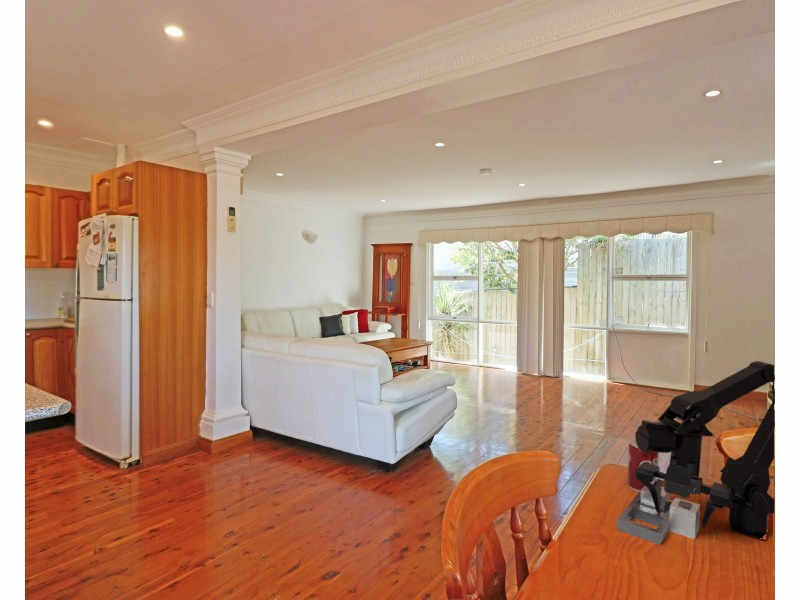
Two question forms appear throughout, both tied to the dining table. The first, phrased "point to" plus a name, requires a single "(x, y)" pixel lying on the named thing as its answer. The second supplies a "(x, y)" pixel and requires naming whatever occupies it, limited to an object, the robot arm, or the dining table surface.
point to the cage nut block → (684, 518)
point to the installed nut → (648, 500)
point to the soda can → (638, 463)
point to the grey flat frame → (647, 516)
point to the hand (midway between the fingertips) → (680, 519)
